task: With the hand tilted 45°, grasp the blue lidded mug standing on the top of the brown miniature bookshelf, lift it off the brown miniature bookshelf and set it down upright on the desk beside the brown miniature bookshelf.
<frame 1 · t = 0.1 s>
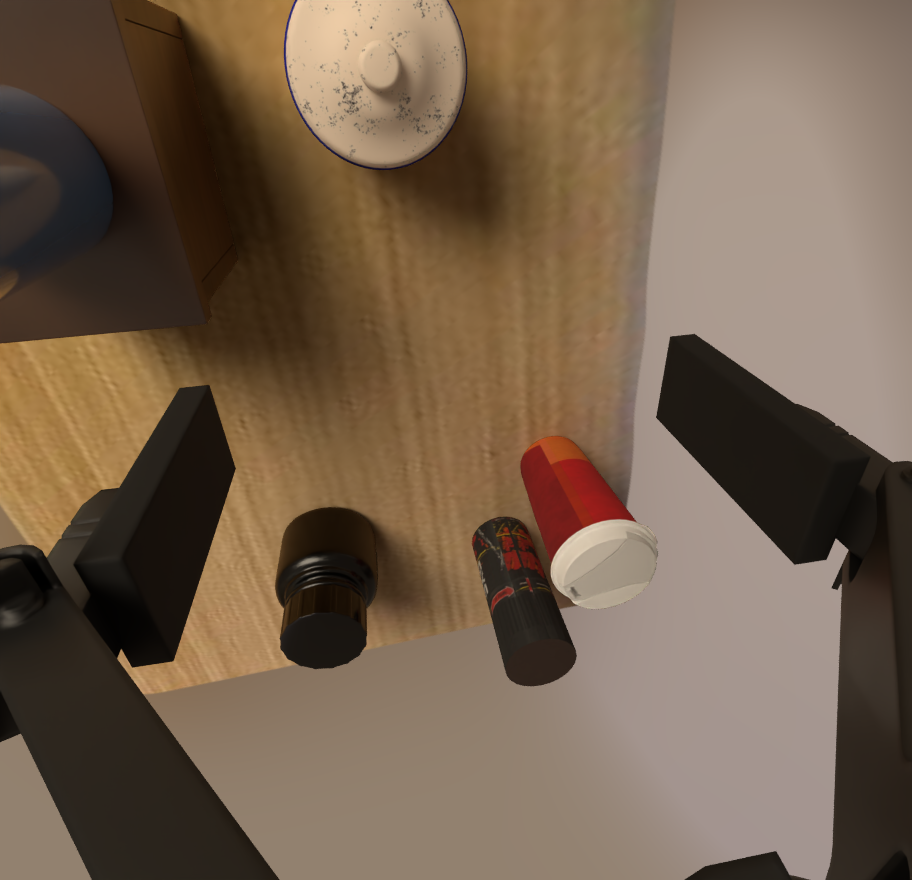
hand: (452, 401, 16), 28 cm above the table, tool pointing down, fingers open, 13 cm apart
deodorant: (499, 537, 57), on the table
teacup with lid: (372, 48, 34), on the table
coffee cup: (550, 460, 53), on the table
brown miniature bookshelf: (113, 156, 35), on the table
ink bottle: (330, 538, 54), on the table
blue lidded mug: (24, 179, 25), point 12 cm above the table, touching brown miniature bookshelf
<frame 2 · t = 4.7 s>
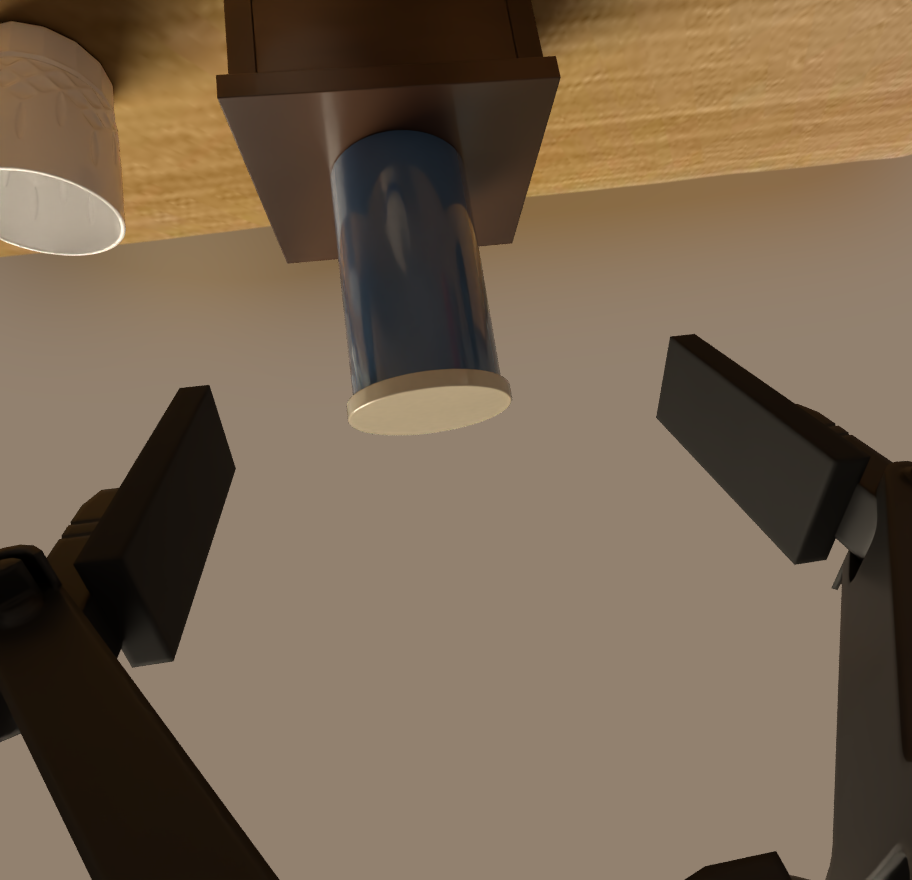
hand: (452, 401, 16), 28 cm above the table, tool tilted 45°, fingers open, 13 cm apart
white cup: (48, 70, 33), on the table
brown miniature bookshelf: (374, 9, 33), on the table
blue lidded mug: (398, 181, 29), point 12 cm above the table, touching brown miniature bookshelf
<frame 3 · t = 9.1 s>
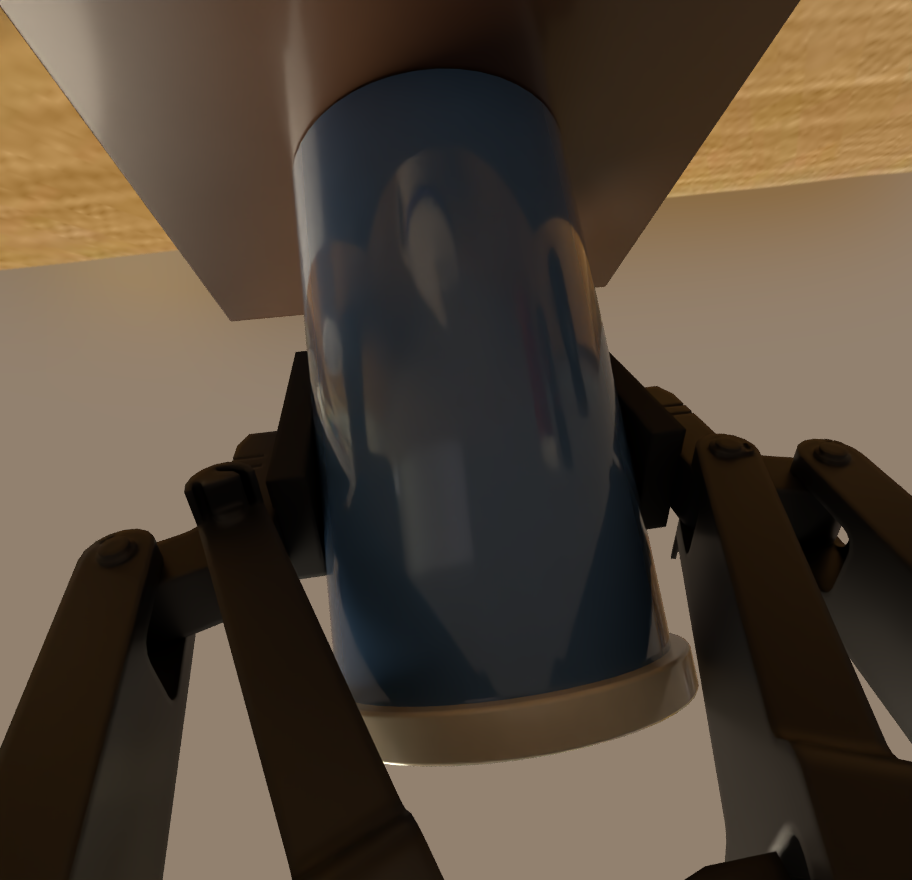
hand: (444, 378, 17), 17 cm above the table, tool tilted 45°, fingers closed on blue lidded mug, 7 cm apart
blue lidded mug: (430, 184, 15), point 12 cm above the table, touching gripper, brown miniature bookshelf
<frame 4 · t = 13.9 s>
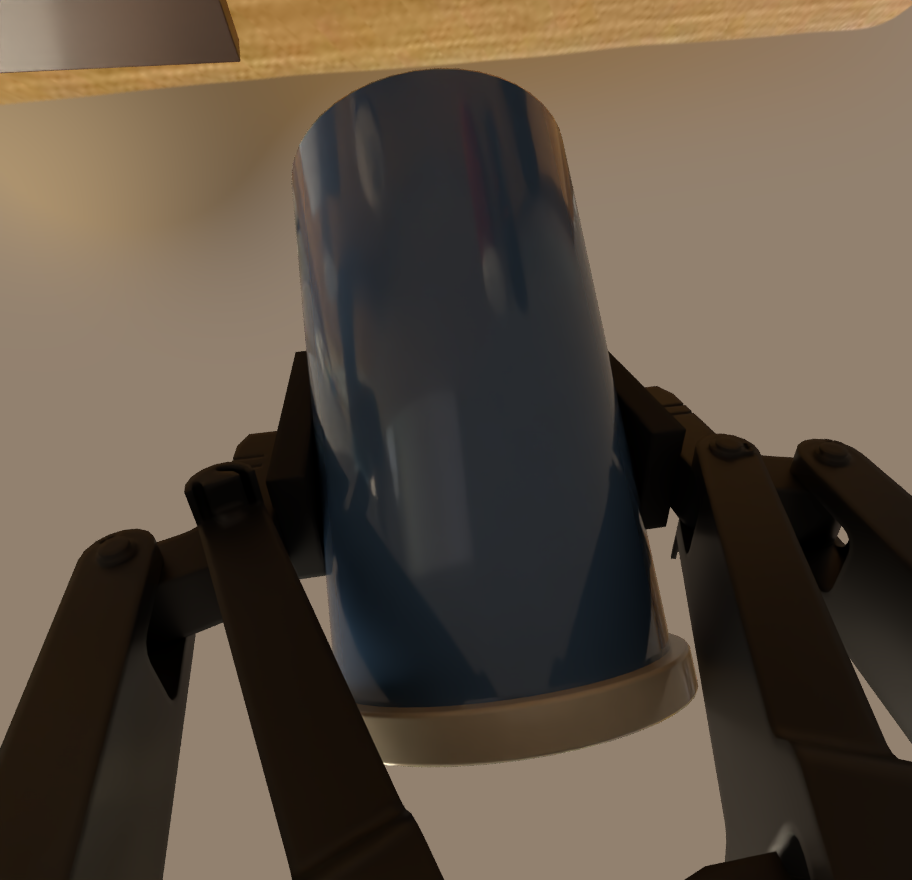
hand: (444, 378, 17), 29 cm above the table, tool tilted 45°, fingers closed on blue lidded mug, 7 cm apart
blue lidded mug: (429, 184, 15), point 24 cm above the table, touching gripper
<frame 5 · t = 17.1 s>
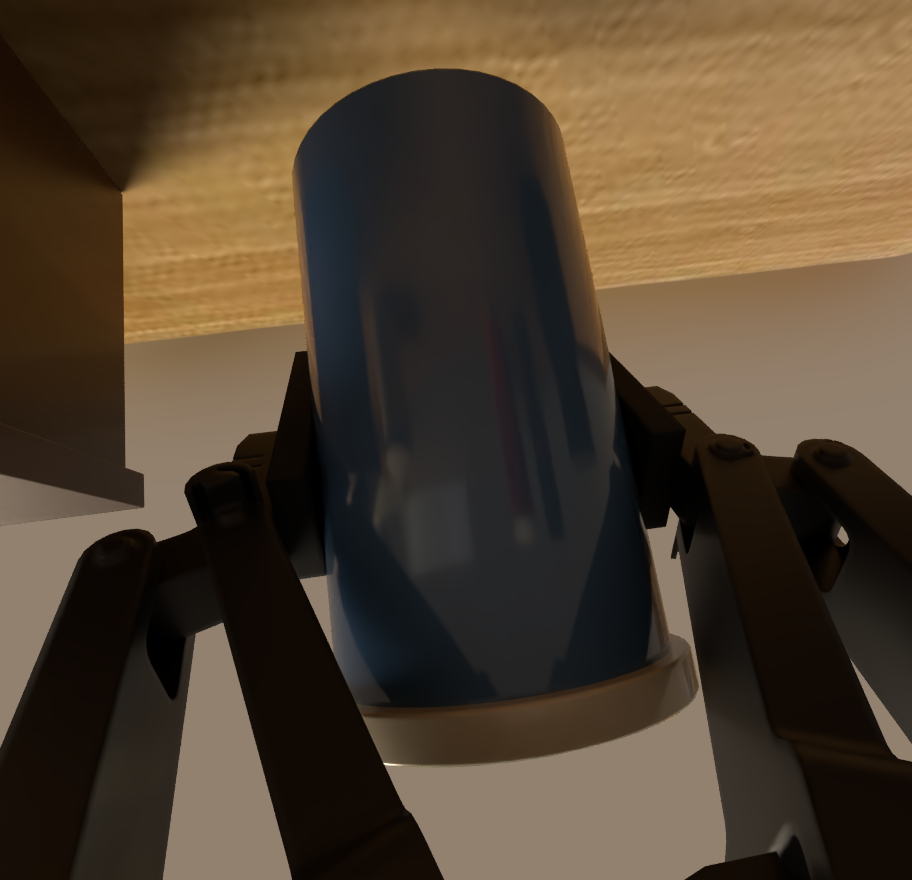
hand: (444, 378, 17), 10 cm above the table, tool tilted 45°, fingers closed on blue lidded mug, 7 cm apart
blue lidded mug: (430, 184, 15), point 6 cm above the table, touching gripper
when the fingers open (4 cm above the table, at t = 19.1 s): blue lidded mug stays where it is, on the table.
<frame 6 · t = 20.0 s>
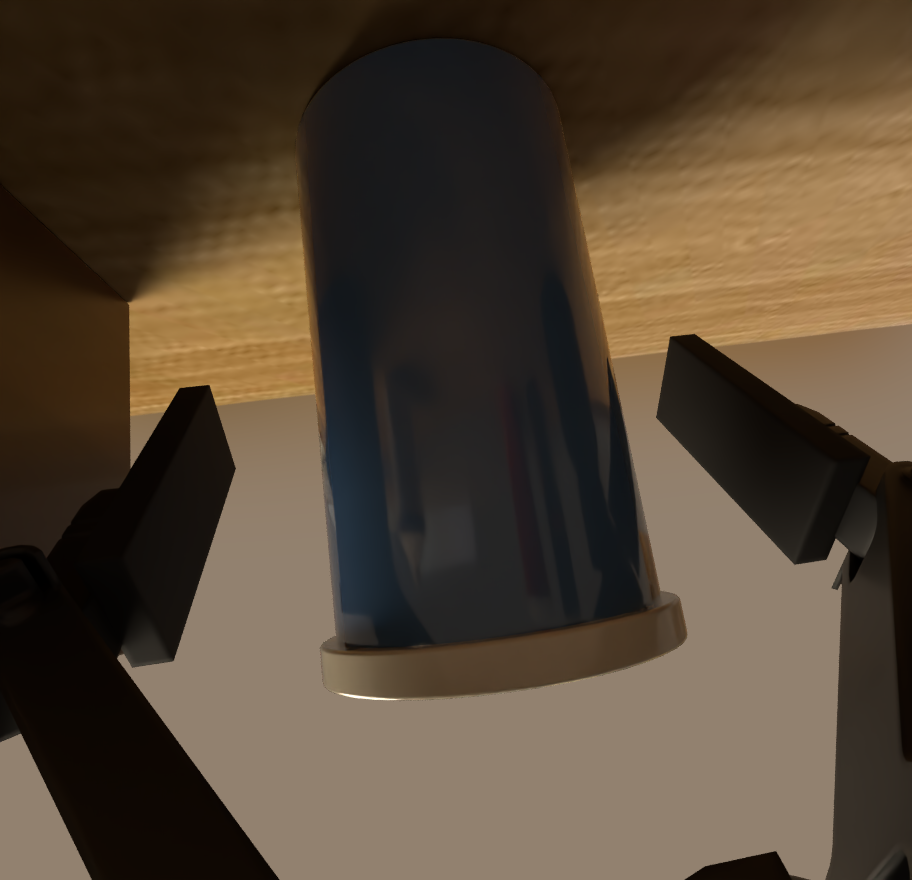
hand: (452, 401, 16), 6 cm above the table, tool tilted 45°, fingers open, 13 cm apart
blue lidded mug: (429, 158, 15), on the table
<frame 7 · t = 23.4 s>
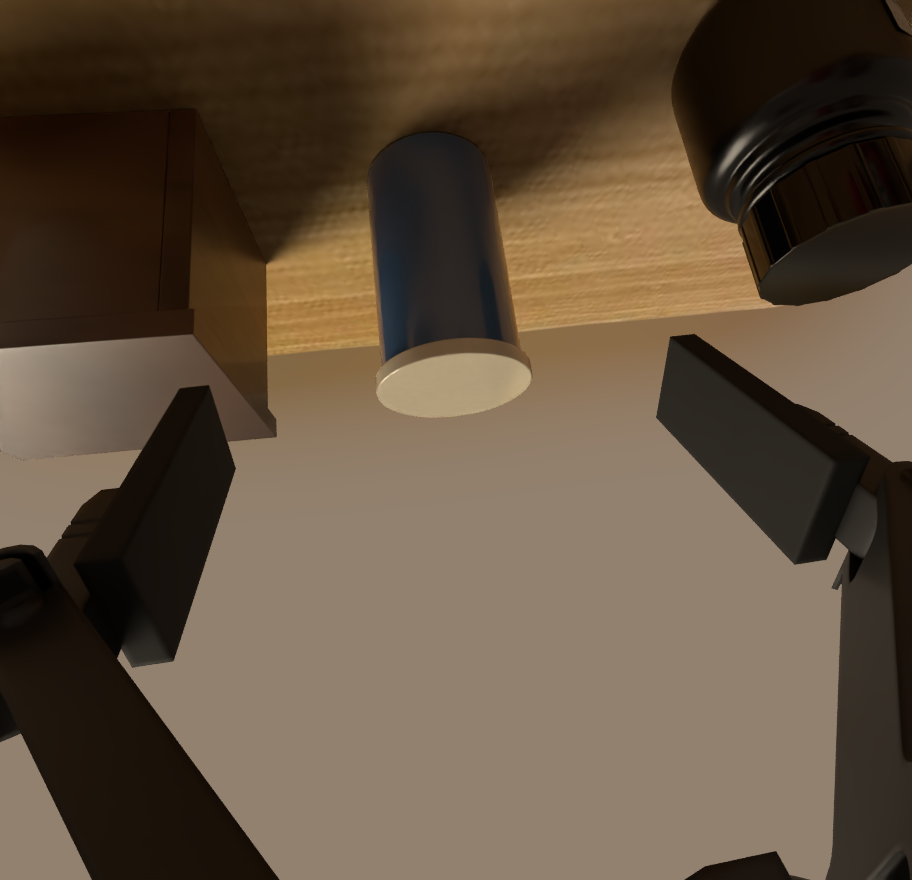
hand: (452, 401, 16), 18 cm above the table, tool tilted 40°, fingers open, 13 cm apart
brown miniature bookshelf: (109, 208, 31), on the table
ink bottle: (764, 44, 26), on the table
blue lidded mug: (429, 183, 32), on the table
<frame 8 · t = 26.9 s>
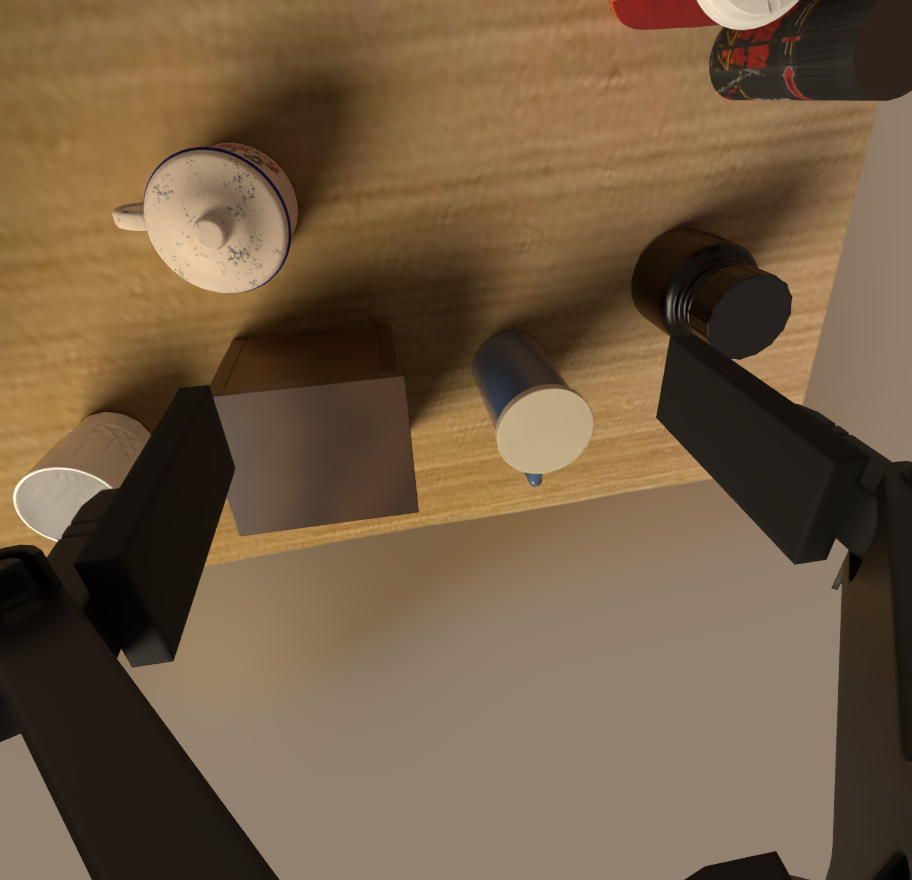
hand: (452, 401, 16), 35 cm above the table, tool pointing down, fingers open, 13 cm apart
deodorant: (743, 56, 44), on the table
teacup with lid: (223, 203, 43), on the table
white cup: (117, 441, 52), on the table
brown miniature bookshelf: (324, 390, 53), on the table
ink bottle: (672, 275, 52), on the table
blue lidded mug: (507, 366, 54), on the table
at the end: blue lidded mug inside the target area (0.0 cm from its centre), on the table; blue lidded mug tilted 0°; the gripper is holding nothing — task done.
